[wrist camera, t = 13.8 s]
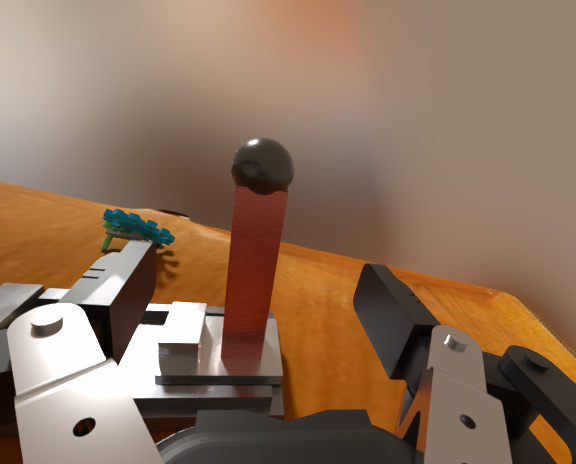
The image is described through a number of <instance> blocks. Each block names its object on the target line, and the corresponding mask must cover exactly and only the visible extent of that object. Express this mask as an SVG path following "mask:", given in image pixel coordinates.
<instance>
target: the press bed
mask: <svg viewBox="0 0 576 464" xmlns="http://www.w3.org/2000/svg"><path fill="white" fill-rule="evenodd" d="M68 291H69V289H54V288H49V289H48V290H47V291H46V292H45V291H44V286H43V285H34V284H15V283H4V284H3V285H1V286H0V330H3V329H8V327H9V326H10V325H11V323H12V322H13V321H14V320H15V319H17V318H18V317H19V316H21V315H23V314H24V313H26V312H28V311H30V310H32V309H34V308H36V307H40V306H44V305H50V304H56V303H57V302H58V301H59V300H60V299H61V298H62V297H63V296H64V295H65V294H66V293H67V292H68ZM171 307H172V305H163V304H149V305H148V307H147V309H146V311H145V313H144V315H143V317H142V320H141V322H140V324H139V326H138V328H137V330H136V332H135V334H134V336H133V338H132V340H131V342H130V344H129V346H128V348H127V350H126V352H125V354H124V356H123V358H122V360H121V362H120V364H119V366H118V369H119V371H120V373H121V375H122V378H123V380H124V382H125V384H126V386H127V388H128V390H129V392H130V394H131V396H132V398H133V400H134V402H135V404H136V406H137V408H138V411H139V413H140V415H141V417H142V419H143V421H144V423H145V425H146V427H147V429H148V431H149V432H154V431H181V430H184V429H186V428H190V427H193V426H195V425H196V419H197V413H198V410H244V411H248V412H252V413H256V414H260V415H264V416H268V417H272V418H276V419H280V420H284V416H285V414H284V406H283V397H282V389H281V384H155V373H156V370H157V367H158V341H159V338H160V336H161V333H162V330H163V328H164V325H165V323H166V320H167V317H168V315H169V312H170V310H171ZM224 310H225V307H207V310H206V316H218V317H224ZM268 319H273V313H271V312H269V314H268ZM7 435H19V430H18V423H17V422H15V423H12V424H8V425H4V426H0V436H7Z"/></svg>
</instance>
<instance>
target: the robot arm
mask: <svg viewBox="0 0 576 464" xmlns="http://www.w3.org/2000/svg"><path fill="white" fill-rule="evenodd" d="M155 286H156V244H155V242H149V241H139V240H130V241H129V243H128V244H127V245H126V246H125V247H124V249H123V250H122V251H121V252H120V253H117V252H112V253H110V254H108V255H106V256H104V257H102V258H100V259H98V260H97V261H96V262H95V263H94V264H93V265H92V266H91V267H90V270H88V271H87V272H86V273H85V274H84V275H83V277H82V278H80V279H79V280H78V281H77V282H76V283H75V284H74V285H73V286H72V287H71V288H70V289H69V291H68V292H67V293H66V294H65V295H64V296H63V297H62V298H61V299H60V300H59V301H58V302H57V303H56V304H50V305H46V306H42V307H38V308H35V309H33V310H30V311H28V312H26V313H24V314H23V315H21V316H19V317H18V318H17V319H15V320H14V321H13V322H12V323H11V325H10V326H9V327H8V329H3V330H0V426H4V425H8V424H12V423H15V422H17V423H18V430H19V437H20V444H21V450H22V457H23V464H557V463H556V462H555V461H554V459H553V458H552V457H551V456H550V454H549V453H548V452H547V451H546V449H545V448H544V447H543V446H542V444H541V443H540V442H539V441H538V440H537V438H536V437H535V436H534V435H533V433H532V432H531V431H530V430H529V427H530V426H531V424H532V423H533V422H534V420H535V419H536V418H537V417H538V415H539V414H541V415H542V417H543V418H544V419H545V420H546V421H547V422H548V423H549V424H550V426H551V427H552V428H553V429H554V430H555V431H556V432H557V434H558V435H559V436H560V437H561V438H562V439H563V440H564V442H565V443H566V444H567V446H568V448H569V450H570V452H571V455H572V464H576V384H575V383H574V382H573V381H572V380H571V379H570V378H569V377H567V376H566V375H565V374H564V373H563V372H562V371H561V370H560V369H559V368H558V367H556V366H555V365H554V364H553V363H552V362H551V361H549V360H548V359H546V358H545V357H543V356H542V355H540V354H538V353H536V352H534V351H532V350H530V349H528V348H525V347H521V346H516V345H512V346H509V347H508V348H507V350H506V351H505V353H504V355H503V356H502V357H501V356H497V355H494V354H490V353H487V352H483V351H482V350H481V348H480V347H479V345H478V344H477V343H476V342H475V341H474V340H473V339H472V338H471V337H470V336H468V335H467V334H465V333H464V332H462V331H460V330H458V329H455V328H453V327H450V326H445V325H441V324H440V323H439V322H438V321H437V319H436V318H435V317H434V316H433V315H432V314H431V312H430V311H429V310H428V309H427V308H426V307H425V305H424V304H423V303H421V301H420V300H419V298H418V297H417V296H415V294H414V293H413V292H412V290H411V289H410V288H409V287H408V286H407V285H406V284H404V283H403V282H401V281H400V280H399V279H397V278H396V277H395V276H394V275H393V273H392V272H391V271H390V270H389V269H388V267H387V266H385V265H379V264H369V263H367V264H365V265H364V267H363V269H362V272H361V275H360V278H359V281H358V284H357V287H356V291H355V294H354V299H353V305H354V309H355V312H356V314H357V316H358V318H359V320H360V322H361V324H362V325H363V327H364V329H365V331H366V333H367V335H368V337H369V339H370V341H371V343H372V345H373V347H374V349H375V351H376V353H377V355H378V357H379V359H380V361H381V363H382V365H383V367H384V369H385V371H386V373H387V375H388V377H389V379H394V380H405V381H406V383H407V384H406V386H405V388H404V390H403V394H402V398H401V403H400V407H399V412H398V417H397V421H396V426H395V430H394V434H392V433H390V432H388V431H386V430H384V429H382V428H379V427H377V426H374V425H372V424H371V422H370V419H369V416H368V414H367V411H366V410H325V411H322V412H318V413H315V414H312V415H308V416H305V417H302V418H298V419H295V420H291V421H284V420H280V419H276V418H272V417H268V416H264V415H260V414H256V413H252V412H248V411H244V410H198V413H197V419H196V425H195V426H193V427H190V428H186V429H184V430H181V431H179V432H176V433H174V434H172V435H170V436H169V437H167V438H165V439H163V440H161V441H160V442H158V443H157V444H154V442H153V439H152V437H151V435H150V433H149V431H148V429H147V427H146V425H145V423H144V421H143V419H142V417H141V415H140V413H139V411H138V408H137V406H136V404H135V402H134V400H133V398H132V396H131V394H130V392H129V390H128V388H127V386H126V384H125V382H124V380H123V378H122V375H121V373H120V371H119V369H118V366H119V364H120V362H121V360H122V358H123V356H124V354H125V352H126V350H127V348H128V346H129V344H130V342H131V340H132V338H133V336H134V334H135V332H136V330H137V328H138V326H139V324H140V322H141V320H142V317H143V315H144V313H145V311H146V309H147V307H148V305H149V303H150V301H151V299H152V297H153V294H154V291H155Z"/></svg>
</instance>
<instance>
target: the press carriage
mask: <svg viewBox="0 0 576 464" xmlns="http://www.w3.org/2000/svg"><path fill="white" fill-rule="evenodd" d="M231 174H232V178H233V181H234V183H235V185H236V188H235V198H234V210H233V222H232V232H231V243H230V254H229V266H228V277H227V288H226V299H225V310H224V317H218V316H206V310H207V303H187V302H173V304H172V307H171V310H170V312H169V315H168V317H167V320H166V323H165V325H164V328H163V330H162V333H161V336H160V338H159V341H158V367H157V370H156V373H155V384H282V380H283V370H282V362H281V354H280V347H279V339H278V331H277V324H276V319H268V314H269V308H270V302H271V295H272V289H273V283H274V277H275V271H276V265H277V258H278V252H279V246H280V239H281V233H282V227H283V221H284V215H285V209H286V203H287V196H288V191H287V189H288V188H289V186H290V184H291V182H292V179H293V174H294V165H293V161H292V158H291V156H290V154H289V152H288V151H287V150H286V148H285V147H284V146H283V145H282V144H280V143H279V142H277V141H275V140H273V139H270V138H264V137H261V138H254V139H251V140H249V141H247V142H245V143H244V144H242V145H241V146H240V147H239V149H238V150H237V151H236V153H235V154H234V157H233V160H232V164H231Z"/></svg>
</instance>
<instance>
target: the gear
mask: <svg viewBox="0 0 576 464" xmlns="http://www.w3.org/2000/svg"><path fill="white" fill-rule="evenodd" d="M103 219H104V220H106V221H105V222H104V224H103V227H105V228H108V229H107V231H106V234H108V236H107V238H106V240H105V241H104V243H103V245H102V247H101V249H103V250H106V249H107V248H108V246H109V244H110V242H111V240H112V238H113V237H116V238H122V239H127V240H129V241H130V240H139V241H141V239H142V240H145V241H149V239H150V240H151V241H153V242H155V243H156V244H162V243H164V244H166V245H170V243H173V242H174V239H175V237H174V236H173V235H170V231H168V230H167V229H165V228H161V230H159V229H157V228H156V226H157V223H155V222H153V221H151V220H148V221H147V223H146V222H144V221H143V220H142V219H141V218H140V216H139V215H137V214H134V213H130V214H129V215H127V214H126V213H124V212H123V211H122V210H120V209H114V211H112V210H109V209H106V211H105V213H104V217H103ZM117 231H119V232H117ZM128 243H129V242H128Z"/></svg>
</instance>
